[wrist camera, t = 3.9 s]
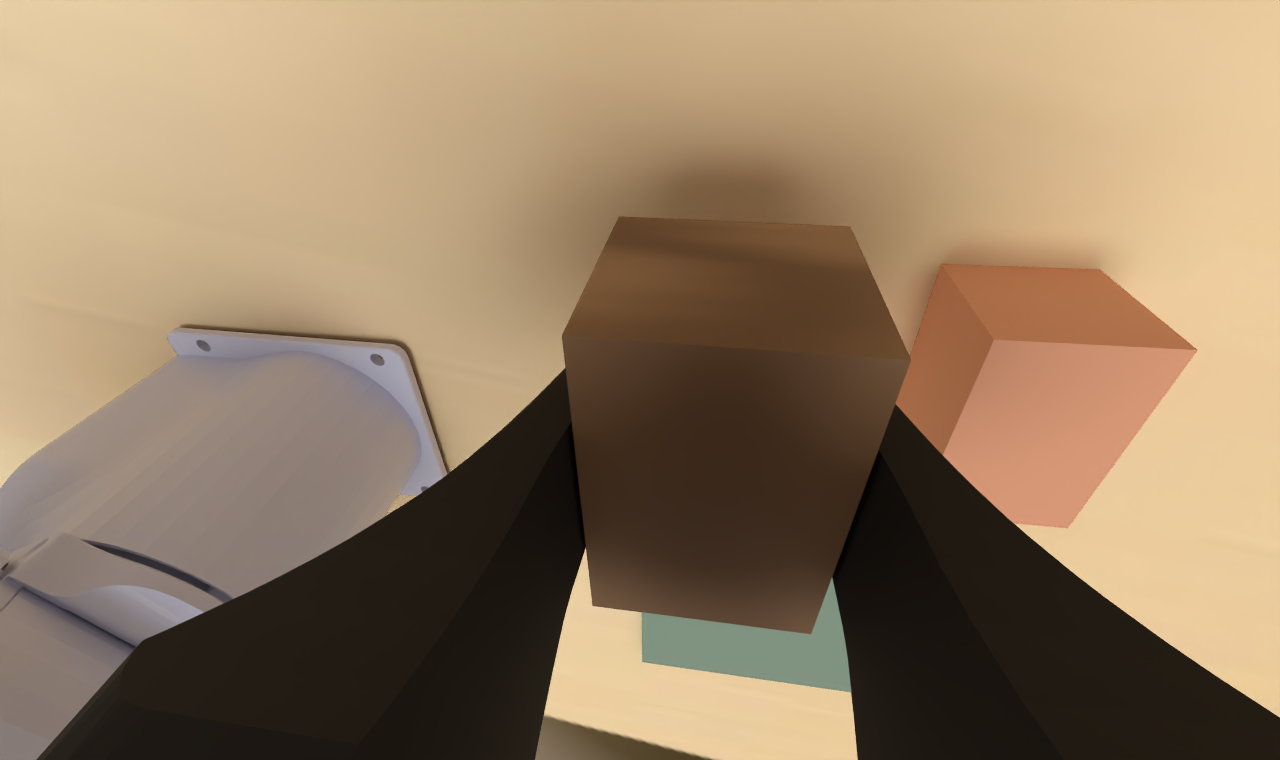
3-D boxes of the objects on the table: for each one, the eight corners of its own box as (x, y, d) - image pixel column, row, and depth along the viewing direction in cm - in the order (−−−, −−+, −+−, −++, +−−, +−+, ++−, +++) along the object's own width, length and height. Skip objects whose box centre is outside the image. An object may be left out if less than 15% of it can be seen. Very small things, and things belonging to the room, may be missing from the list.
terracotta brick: (885, 422, 19) (916, 514, 15) (939, 262, 15) (994, 339, 12) (1009, 431, 18) (1067, 528, 15) (1097, 267, 14) (1197, 350, 11)
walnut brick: (626, 454, 13) (592, 605, 10) (618, 216, 10) (561, 335, 6) (792, 470, 13) (811, 634, 10) (850, 226, 9) (910, 360, 6)
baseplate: (644, 651, 31) (642, 662, 30) (642, 434, 20) (639, 445, 20) (880, 684, 29) (882, 696, 29) (1007, 468, 19) (1014, 481, 18)
